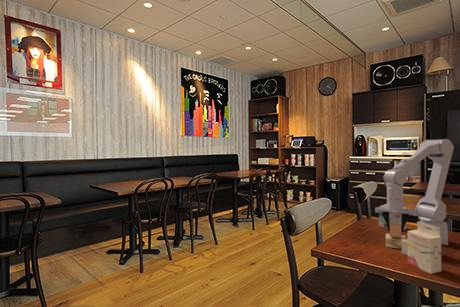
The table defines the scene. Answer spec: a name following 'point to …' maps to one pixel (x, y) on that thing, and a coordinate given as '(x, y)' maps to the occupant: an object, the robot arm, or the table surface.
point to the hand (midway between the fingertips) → (395, 231)
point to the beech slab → (394, 241)
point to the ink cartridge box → (425, 248)
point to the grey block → (404, 246)
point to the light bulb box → (390, 218)
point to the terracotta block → (395, 229)
